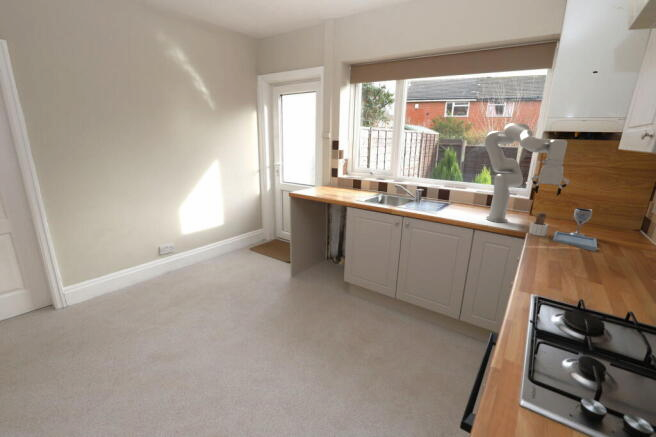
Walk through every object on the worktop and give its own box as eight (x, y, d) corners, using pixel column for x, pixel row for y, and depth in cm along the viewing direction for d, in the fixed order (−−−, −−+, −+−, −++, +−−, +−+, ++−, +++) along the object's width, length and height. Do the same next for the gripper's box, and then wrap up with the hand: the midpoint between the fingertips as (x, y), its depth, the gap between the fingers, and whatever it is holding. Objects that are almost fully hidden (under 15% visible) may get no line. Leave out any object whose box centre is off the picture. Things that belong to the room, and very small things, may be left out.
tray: (552, 242, 163) (553, 238, 163) (554, 234, 177) (555, 231, 176) (595, 251, 152) (597, 247, 152) (595, 242, 166) (596, 238, 165)
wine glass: (570, 234, 178) (576, 210, 173) (567, 231, 184) (573, 207, 180) (587, 237, 174) (594, 212, 170) (583, 233, 181) (590, 209, 177)
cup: (525, 232, 179) (528, 221, 177) (538, 233, 179) (541, 221, 177) (534, 237, 171) (537, 225, 169) (548, 237, 171) (551, 225, 169)
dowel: (531, 232, 177) (535, 212, 173) (538, 232, 177) (542, 212, 173) (535, 234, 173) (540, 214, 169) (542, 234, 173) (547, 214, 169)
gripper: (534, 162, 166) (527, 192, 170) (573, 164, 155) (566, 197, 160) (535, 161, 171) (529, 191, 176) (574, 164, 161) (566, 195, 166)
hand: (546, 194), depth 168 cm, fingers open, 9 cm apart
